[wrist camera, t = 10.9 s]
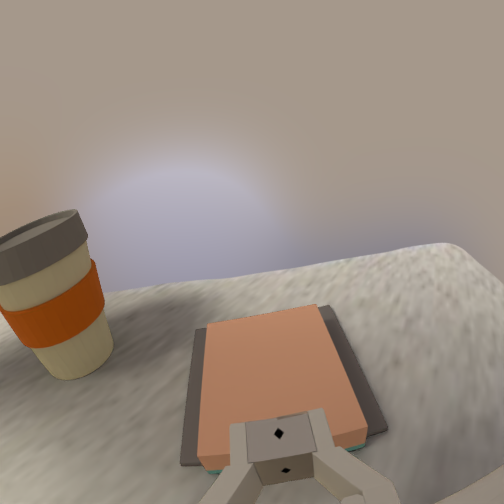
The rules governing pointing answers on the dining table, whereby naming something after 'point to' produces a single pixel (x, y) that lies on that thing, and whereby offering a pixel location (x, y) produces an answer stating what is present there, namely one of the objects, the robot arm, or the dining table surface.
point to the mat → (345, 355)
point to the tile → (273, 379)
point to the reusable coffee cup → (55, 295)
